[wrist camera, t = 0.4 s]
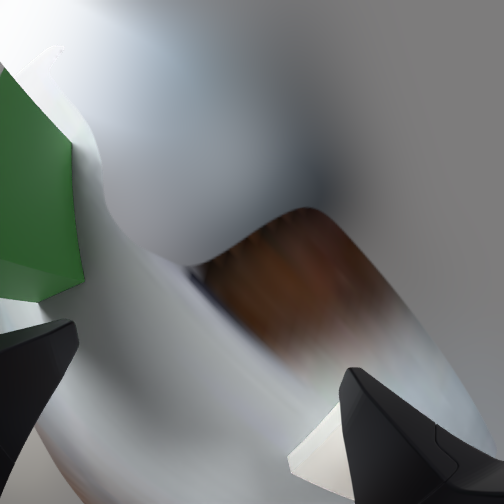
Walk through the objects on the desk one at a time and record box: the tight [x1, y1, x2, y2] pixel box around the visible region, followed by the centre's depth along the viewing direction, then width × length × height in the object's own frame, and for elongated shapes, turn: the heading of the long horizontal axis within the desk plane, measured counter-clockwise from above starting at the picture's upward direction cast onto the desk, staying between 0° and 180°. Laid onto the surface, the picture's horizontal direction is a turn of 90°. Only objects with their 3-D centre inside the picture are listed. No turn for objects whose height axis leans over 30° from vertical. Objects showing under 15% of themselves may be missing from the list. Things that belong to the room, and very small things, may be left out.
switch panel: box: [287, 401, 355, 501], centre depth 17 cm, size 9×19×3 cm, turn 51°
